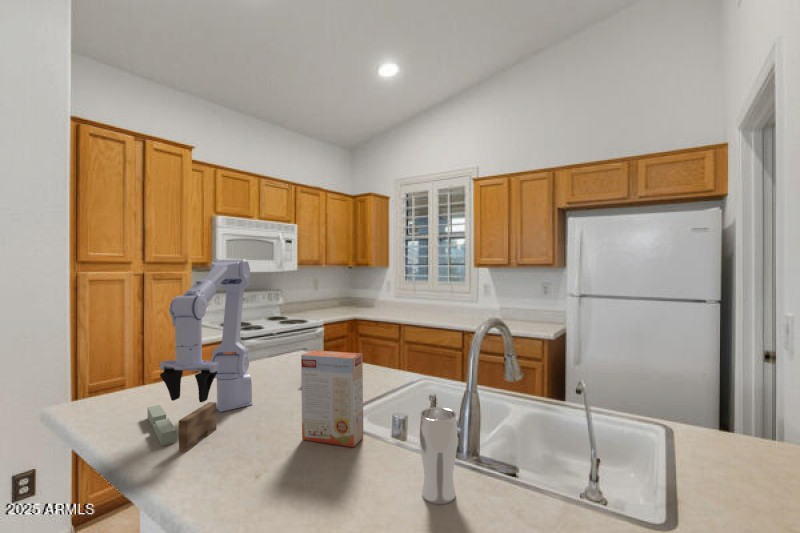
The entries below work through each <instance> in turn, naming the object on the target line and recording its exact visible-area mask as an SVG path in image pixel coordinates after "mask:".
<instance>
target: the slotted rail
mask: <svg viewBox="0 0 800 533" xmlns="http://www.w3.org/2000/svg"><path fill="white" fill-rule="evenodd" d="M147 419H148V422H149V424H150V426H151V427H152V430H153V431H154V433H155V435H156V438H157V439H158V442H159V443H160V446H162V447H163V446H166V445H171V444H175V443H177V428H175V426H174V424H173V422H172V421H171V420H170V418H169V417H167V414H166V412H165V411H164V409H163V408H162V406H161V404H158V405H154V406H153V405H152V406H147Z"/></svg>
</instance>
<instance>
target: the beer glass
mask: <svg viewBox="0 0 800 533" xmlns="http://www.w3.org/2000/svg"><path fill="white" fill-rule="evenodd" d="M419 418H420V419H419V420H420V421H419V433H418V434H419V435H418V437H419V448H420V456H421V460H422V468H423V477H424V478H423V485H422V489H421V494H422V495H421V496H422V498H423V499H424V500H425V501H426V502H428V503H431V504H434V505H447V504H449V503H451V502H453V501H454V500H455V498H456V491H455V490H456V489H455V484H454V483H455V482H454V468H455V464H456V463H455V462H456V458H457V450H458V425H457V414H456V412H455V411H454V410H452V409H450V408H448V407H441V406H439V407H438V406H437V407H436V406H434V407H428V408H424V409H422V410H421V412H420V417H419Z"/></svg>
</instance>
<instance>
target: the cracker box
mask: <svg viewBox="0 0 800 533" xmlns="http://www.w3.org/2000/svg"><path fill="white" fill-rule="evenodd" d="M300 357H301V359H300V361H301V363H300V364H301V366H300V368H301V371H300V372H301V377H300V378H301V381H300V382H301V439H302V440H303V441H308V442H314V443H315V442H316V443H321V444H322V443H323V444H328V445H329V444H330V445H336V446H342V447H343V446H344V447H347V448H348V447H349V448H354V447H355V446H357V445H358V443H360V441H361V440H363V438H364V384H363V383H364V382H363V381H364V379H363V378H364V375H363V373H364V372H363V371H364V370H363V364H364V363H363V353H360V352H358V353H356V352H346V351H345V352H341V351H331V350H330V351H328V350H314V349H313V350H310V351H308V352H305V353H302V354H301V356H300Z"/></svg>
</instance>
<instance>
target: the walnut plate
mask: <svg viewBox="0 0 800 533" xmlns="http://www.w3.org/2000/svg"><path fill="white" fill-rule="evenodd" d="M216 402H217V401H215V402H213V401H212V402H211V401H208V402H207V403H205V404H203V405H202V406H200V407H198V408H197V409H195V410H193V411H192V412H190V413H189V414H187V415H186V416H184V417H182V418H181V419H179V420H178V452H189V451H190V450H192V448H194V447H196V445H198V438H199V437H201V436H203V437H205V436H206V437H208V436H210V435H211V434H212V433H213V432H215V431H216V430H217V409H216Z"/></svg>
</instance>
